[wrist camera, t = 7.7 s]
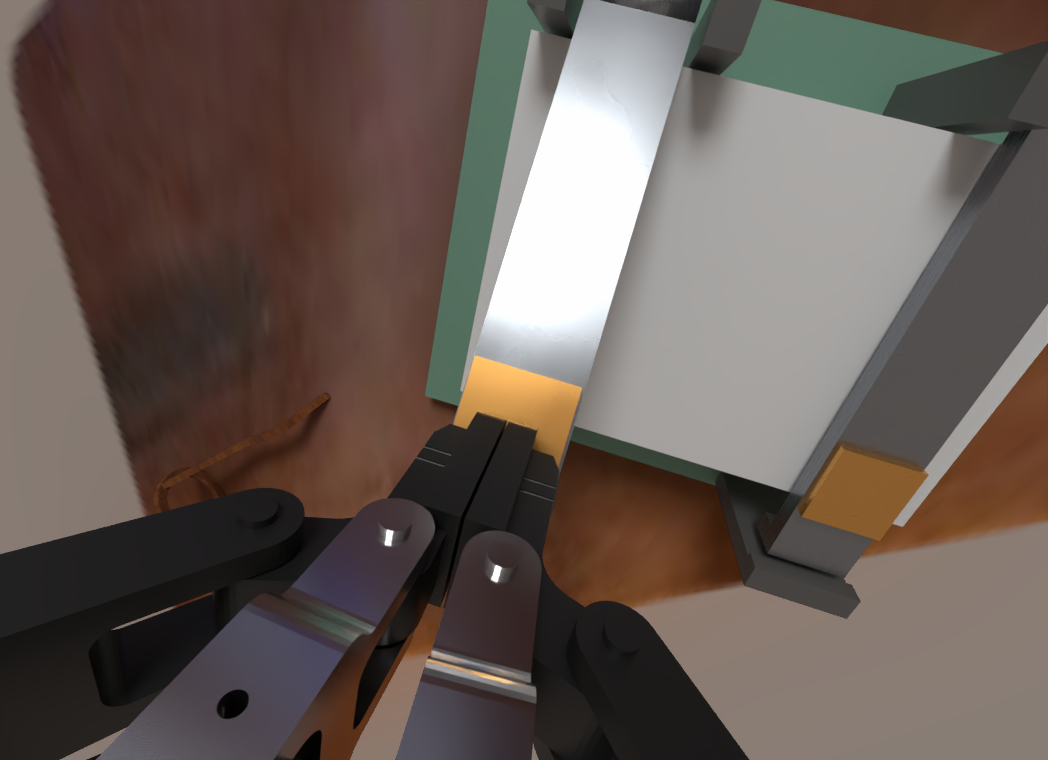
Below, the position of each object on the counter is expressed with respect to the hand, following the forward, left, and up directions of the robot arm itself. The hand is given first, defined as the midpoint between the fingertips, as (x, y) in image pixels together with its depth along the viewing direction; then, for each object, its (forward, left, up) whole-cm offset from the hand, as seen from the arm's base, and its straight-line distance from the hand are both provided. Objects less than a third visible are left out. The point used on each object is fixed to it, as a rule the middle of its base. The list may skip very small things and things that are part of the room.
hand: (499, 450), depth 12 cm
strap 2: (-3, +12, -8) cm, 15 cm away
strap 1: (-3, 0, -4) cm, 5 cm away
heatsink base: (-3, +6, -13) cm, 15 cm away
